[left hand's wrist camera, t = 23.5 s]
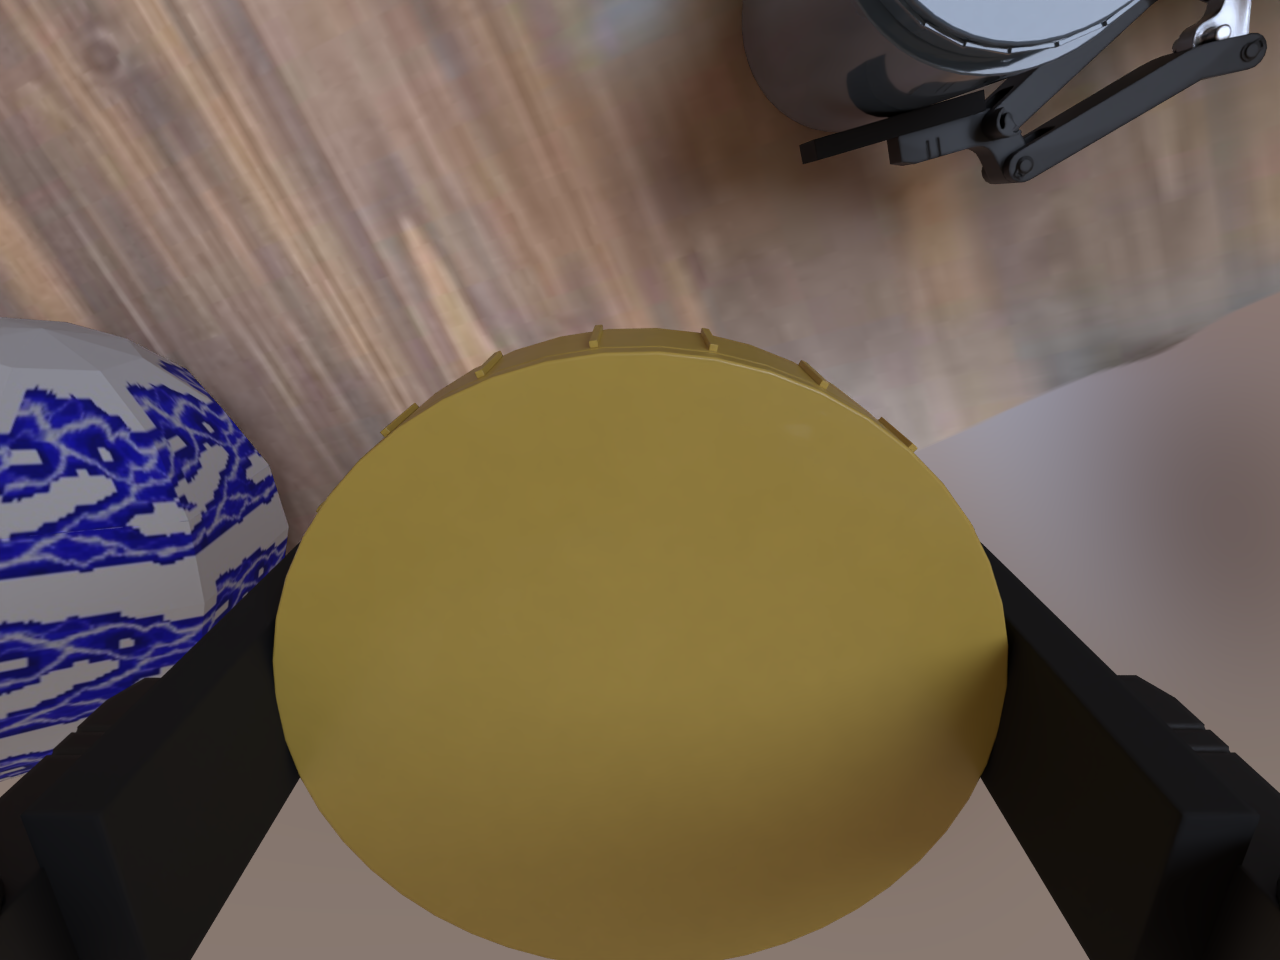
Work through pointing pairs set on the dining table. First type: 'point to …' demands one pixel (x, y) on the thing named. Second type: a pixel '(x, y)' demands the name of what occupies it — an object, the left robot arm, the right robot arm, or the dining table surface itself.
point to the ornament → (113, 525)
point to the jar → (904, 50)
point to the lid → (640, 651)
